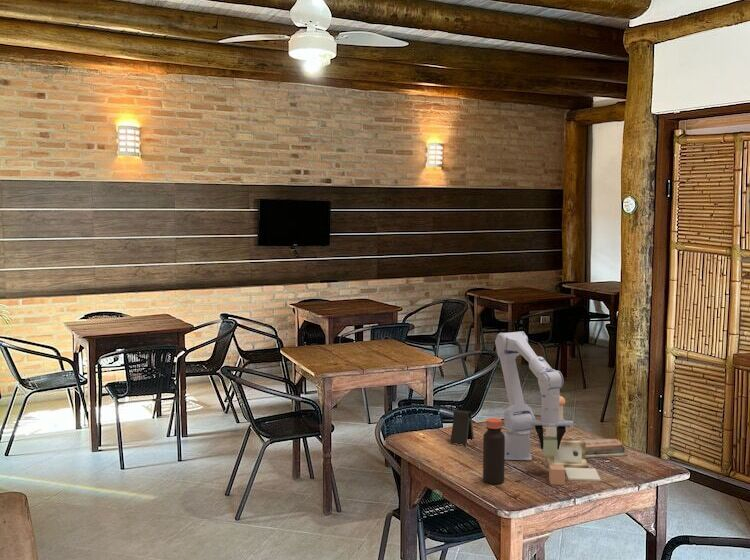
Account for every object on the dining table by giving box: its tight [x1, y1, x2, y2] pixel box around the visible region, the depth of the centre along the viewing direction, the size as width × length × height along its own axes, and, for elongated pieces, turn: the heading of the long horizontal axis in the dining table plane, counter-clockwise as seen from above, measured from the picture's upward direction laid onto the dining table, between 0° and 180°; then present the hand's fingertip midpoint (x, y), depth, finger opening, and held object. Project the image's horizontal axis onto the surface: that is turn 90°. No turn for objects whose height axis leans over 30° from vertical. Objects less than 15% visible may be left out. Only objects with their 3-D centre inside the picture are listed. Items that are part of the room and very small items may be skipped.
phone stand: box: [449, 408, 475, 446], centre depth 278 cm, size 9×6×12 cm, turn 151°
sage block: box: [541, 435, 557, 456], centre depth 244 cm, size 4×4×5 cm
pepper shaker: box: [544, 395, 566, 441], centre depth 273 cm, size 7×7×19 cm
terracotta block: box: [548, 465, 566, 486], centre depth 237 cm, size 4×4×5 cm
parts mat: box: [564, 467, 602, 482], centre depth 243 cm, size 10×10×1 cm
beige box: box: [545, 440, 589, 468], centre depth 253 cm, size 13×8×7 cm, turn 83°
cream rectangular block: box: [553, 444, 582, 463], centre depth 253 cm, size 9×5×5 cm, turn 83°
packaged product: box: [575, 438, 628, 459], centre depth 265 cm, size 18×5×10 cm
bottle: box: [482, 417, 506, 485], centre depth 237 cm, size 7×7×20 cm
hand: (549, 448), depth 244 cm, fingers closed on sage block, 4 cm apart
